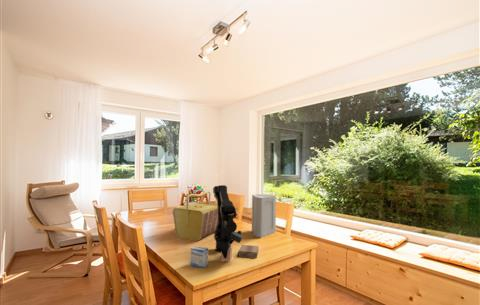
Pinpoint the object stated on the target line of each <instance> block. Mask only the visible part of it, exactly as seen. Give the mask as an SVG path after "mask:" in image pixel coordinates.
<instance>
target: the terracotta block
mask: <svg viewBox="0 0 480 305" xmlns="http://www.w3.org/2000/svg"><path fill="white" fill-rule="evenodd" d="M232 258H233V246H231V247H230V248H229V249H228V253H227V258H224V256H223V254H222V252H221V251H220V261H221V262H231V261H232Z"/></svg>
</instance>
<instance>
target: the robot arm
mask: <svg viewBox="0 0 480 305" xmlns="http://www.w3.org/2000/svg"><path fill="white" fill-rule="evenodd" d="M212 193H213V197H214V198H215V200H216V204H217V210H218V225H217V227H216V230H215V232H214V234H213V237H214V241H215V250H214V251H215V252H220V253H221V252H222V254H223V256H224V258H227V253H228V249H229V248H230V247H232V244H233V243H234V241H235V242H237V243H238V244H241V242H242V239H243V237H244V236H243V234H242V230H238V231H236V230H237V228H238V225H237V223H236V222H235V220H234V219H236V218H237V210H236V207H235V205H234V203H233V201H231V200H230V197H229V194H228V187H227V185H225V184H223V185H222V184H221V185H215V186H213V188H212Z"/></svg>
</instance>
